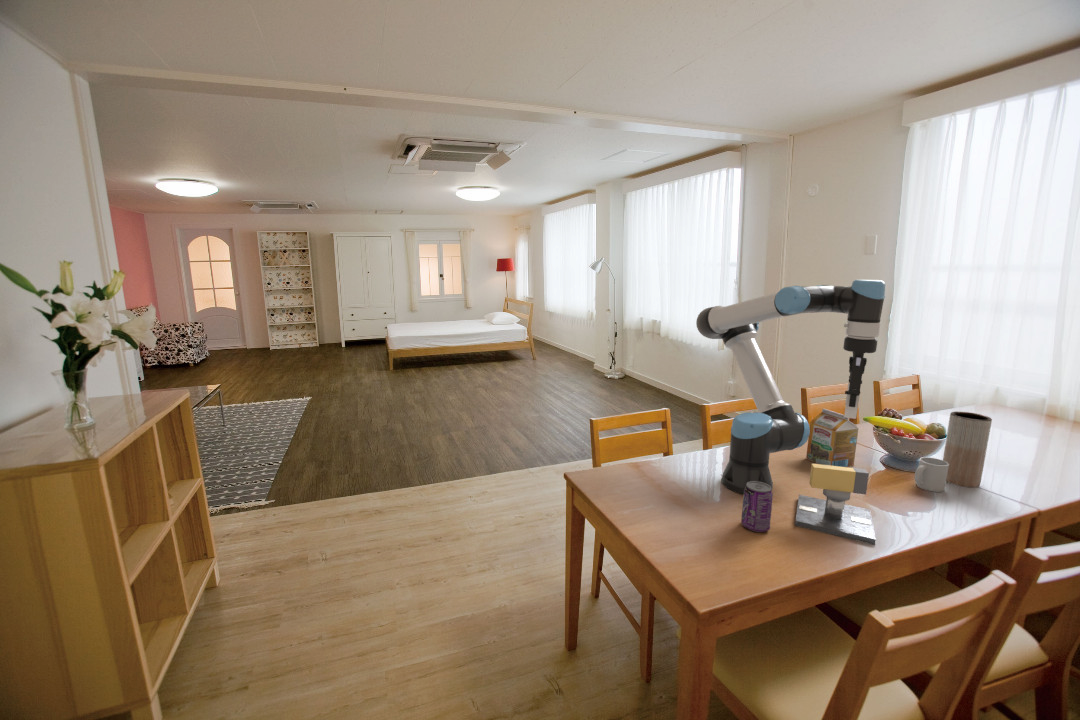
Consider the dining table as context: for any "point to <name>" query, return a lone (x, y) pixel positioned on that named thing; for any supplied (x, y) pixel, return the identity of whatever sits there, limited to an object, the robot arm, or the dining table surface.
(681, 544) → the dining table surface
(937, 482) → the grey cup
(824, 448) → the milk carton
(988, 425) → the planter
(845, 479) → the handle
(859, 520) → the post base
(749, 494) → the beverage can
